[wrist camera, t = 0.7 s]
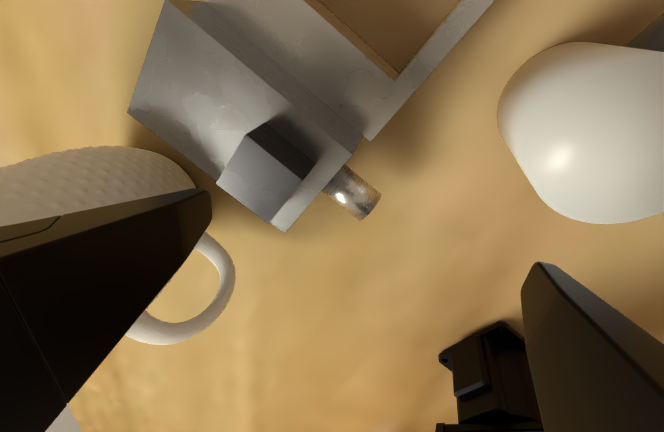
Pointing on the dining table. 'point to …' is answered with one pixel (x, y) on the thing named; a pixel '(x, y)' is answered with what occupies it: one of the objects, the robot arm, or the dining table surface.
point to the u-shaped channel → (278, 97)
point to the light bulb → (591, 127)
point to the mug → (102, 190)
